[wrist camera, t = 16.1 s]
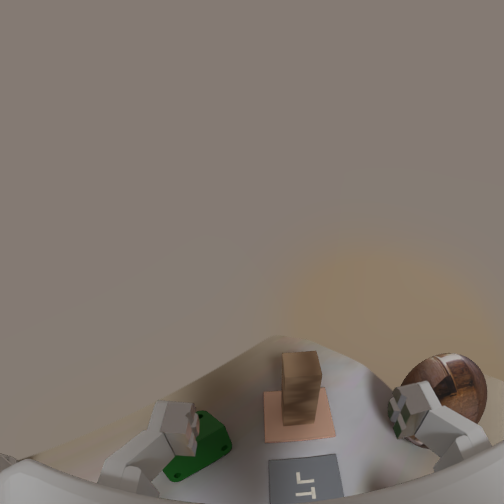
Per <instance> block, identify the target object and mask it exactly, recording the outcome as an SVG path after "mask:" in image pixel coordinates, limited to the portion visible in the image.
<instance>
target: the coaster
mask: <svg viewBox="0 0 504 504" xmlns="http://www.w3.org/2000/svg"><path fill="white" fill-rule="evenodd" d="M281 393H282V391H269V392H264V425H265V443H275V442H291V441H303V440H313V439H322V438H330V437H335V436H336V435H335V430H334V425H333V421H332V416H331V412H330V408H329V403H328V399H327V395H326V390H325V387H323V388H320V392H319V398H318V404H317V410H316V416H315V422H314V424H304V425H293V426H283V419H282V407H281Z"/></svg>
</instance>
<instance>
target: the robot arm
mask: <svg viewBox="0 0 504 504" xmlns="http://www.w3.org/2000/svg"><path fill="white" fill-rule="evenodd" d="M392 394H393V396H394V397H393V398H392V399H390V401H389V404H388V415H389V418H390V420H391V421H392V422H394V423H395V424H394V427H393V429H394V432H395V434H396V437H397V439H401V438H405V437H409V436H413V435H415V437H416V438H417V439H419V440H420V441H421V442H422V443H423V444H425V445H426V446H427V447H428V448H429V449H431V450H432V451H433V452H434V453H435V454H437V455H438V456H439V457H440V460H439V461H438V462H437V463H436V464H435V466H434V467H433V469H434V471H435V472H434V473H432V474H429V475H426V476H423V477H420V478H417V479H414V480H411V481H408V482H405V483H401V484H398V485H395V486H391V487H387V488H384V489H380V490H376V491H371V492H367V493H362V494H358V495H353V496H348V497H342V498H336V499H330V500H323V501H315V502H306V503H296V504H504V440H503V441H501V442H499V443H498V444H496V445H494V446H492V445H491V444H490V442H489V440H488V438H487V436H486V434H485V432H484V430H483V429H482V427H481V426H479V425H478V424H476V423H474V422H472V421H471V420H469V419H467V418H465V417H463V416H462V415H460V414H458V413H457V412H455V411H453V410H451V409H450V408H448V407H446V406H442V405H441V404H440V402H439V400H438V398H437V396H436V395H435V393H434V391H433V389H432V387H431V386H430V384H429V382H428V381H422V382H418V383H413V384H409V385H405V386H400V387H396V388H395V389H394V391H393V393H392ZM195 410H196V407H195V404H194V403H184V402H173V401H162V400H157V402H156V403H155V406H154V409H153V412H152V415H151V419H150V422H149V425H148V428H147V430H143V431H142V432H141V433H139V434H138V435H137V436H135V437H134V438H133V439H132V440H130V441H129V442H128V443H127V444H125V445H124V446H123V447H121V448H120V449H119V450H117V451H116V452H115V453H113V454H112V455H111V456H109V457H108V458H107V459H106V460H105V463H104V465H103V468H102V471H101V474H100V477H99V479H98V482H97V483H94V482H91V481H87V480H84V479H81V478H78V477H76V476H73V475H70V474H67V473H64V472H62V471H59V470H57V469H54V468H52V467H49V466H47V465H45V464H42V463H40V462H38V461H36V460H33V459H25V460H22V461H20V462H18V460H16V459H15V458H14V457H11V456H8V455H4V454H1V453H0V504H203V503H192V502H183V501H176V500H169V499H162V498H159V494H160V493H159V492H158V490H157V489H156V488H155V487H154V486H153V484H152V483H151V481H152V480H153V479H154V478H155V477H156V476H157V475H158V474H159V473H160V472H161V471H162V470H163V469H164V468H165V467H166V466H167V464H168V463H169V462H170V461H171V460H172V459H173V458H174V457H175V455H180V456H195V454H196V448H197V442H196V439H195V438H196V437H197V436H198V435H199V424H200V423H199V417H198V414H196V413H195Z"/></svg>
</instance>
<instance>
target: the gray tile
mask: <svg viewBox="0 0 504 504" xmlns="http://www.w3.org/2000/svg"><path fill="white" fill-rule="evenodd" d="M269 485H270V504H296V503H306V502H315V501H323V500H330V499H336V498H342V497H344V493H343V488H342V483H341V477H340V472H339V467H338V462H337V457H336V454H333V455H326V456H318V457H309V458H299V459H286V460H269Z"/></svg>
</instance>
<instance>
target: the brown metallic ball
mask: <svg viewBox="0 0 504 504" xmlns="http://www.w3.org/2000/svg"><path fill="white" fill-rule="evenodd" d="M422 381H428V382H429V384H430V386H431V387H432V389H433V391H434V393H435V395H436V396H437V398H438V400H439V402H440V404H441V405H442V406H446V407H448V408H450V409H451V410H453V411H455V412H457V413H458V414H460V415H462V416H463V417H465V418H467V419H469V420H471V421H472V422H474V423H476V424H478V422H479V421H480V419H481V417H482V415H483V412H484V410H485V406H486V401H487V385H486V381H485V378H484V375H483V373H482V372H481V370H480V368H479V367H478V366H477V365H476V364H475V363H474V362H473V361H472V360H470V359H469V358H467V357H465V356H462V355H459V354H453V353H445V354H439V355H435V356H432V357H430V358H428V359H426V360H424V361H422V362H421V363H419V364H418V365H417V366H416V367H415V368H413V369H412V371H411V372H410V373H409V374H408V375H407V376H406V378H405V379H404V381H403V383H402V384H401V386H405V385H409V384H413V383H418V382H422ZM406 438H407V439H408V440H409V441H410V442H412V443H413V444H415V445H417V446H419V447H422V448H427V449H429V448H428V447H427V446H426V445H425V444H423V443H422V442H421V441H420V440H419V439H417V438H416V437H415V435H413V436H409V437H406Z"/></svg>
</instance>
